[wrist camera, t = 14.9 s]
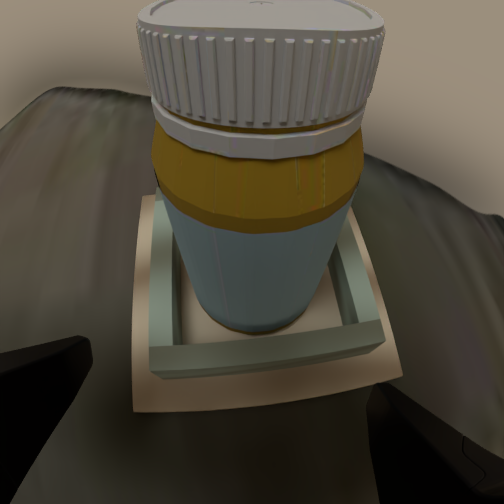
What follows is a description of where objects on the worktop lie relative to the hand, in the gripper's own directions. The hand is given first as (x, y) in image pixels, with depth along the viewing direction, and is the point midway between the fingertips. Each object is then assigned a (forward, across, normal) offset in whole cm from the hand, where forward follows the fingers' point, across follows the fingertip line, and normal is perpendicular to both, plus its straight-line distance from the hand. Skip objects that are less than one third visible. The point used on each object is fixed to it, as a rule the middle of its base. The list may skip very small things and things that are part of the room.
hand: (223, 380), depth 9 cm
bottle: (+10, 0, 0) cm, 10 cm away
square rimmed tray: (+11, 0, 0) cm, 11 cm away
